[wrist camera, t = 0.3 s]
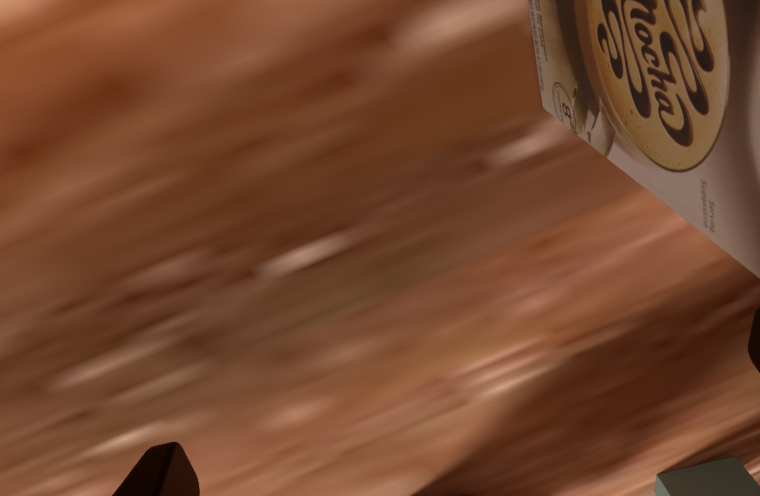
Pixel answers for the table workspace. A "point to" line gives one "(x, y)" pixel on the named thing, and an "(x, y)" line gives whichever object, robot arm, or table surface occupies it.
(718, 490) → the teal domino
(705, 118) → the coffee box
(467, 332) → the table surface
